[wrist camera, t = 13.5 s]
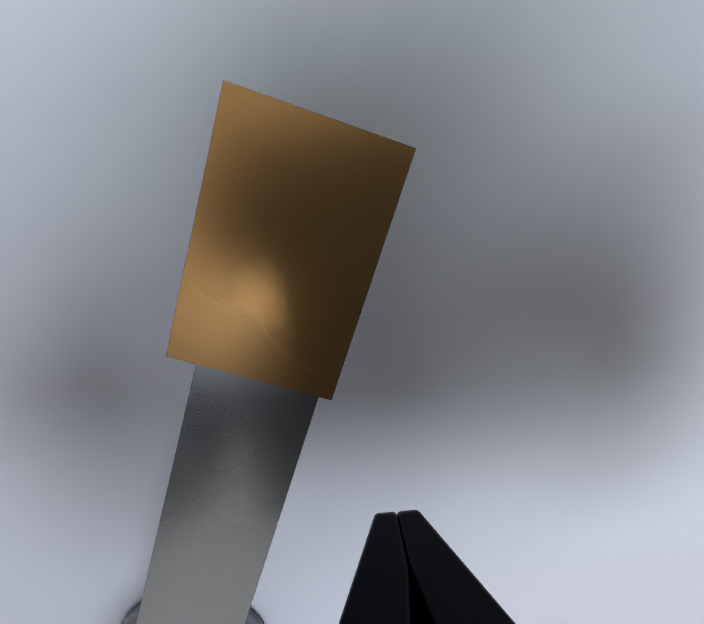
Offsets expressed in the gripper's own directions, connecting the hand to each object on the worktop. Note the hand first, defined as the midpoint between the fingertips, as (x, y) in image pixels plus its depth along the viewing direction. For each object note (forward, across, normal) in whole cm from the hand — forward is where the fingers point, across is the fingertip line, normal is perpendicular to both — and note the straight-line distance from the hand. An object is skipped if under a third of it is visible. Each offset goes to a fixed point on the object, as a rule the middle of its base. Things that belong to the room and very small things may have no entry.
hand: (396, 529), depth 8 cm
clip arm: (0, +4, +1) cm, 4 cm away
